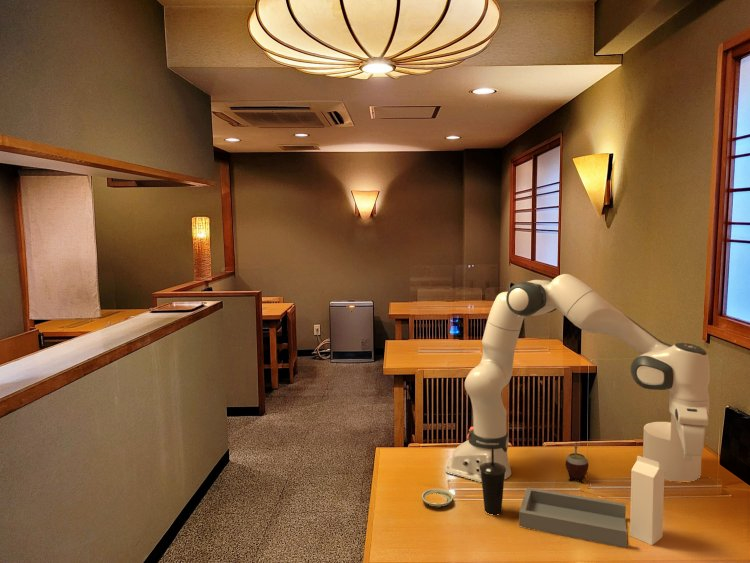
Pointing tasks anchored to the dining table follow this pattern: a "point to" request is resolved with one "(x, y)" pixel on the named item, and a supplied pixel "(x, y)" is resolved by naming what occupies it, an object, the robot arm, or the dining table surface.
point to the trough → (574, 516)
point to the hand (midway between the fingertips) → (687, 458)
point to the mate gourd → (576, 466)
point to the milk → (647, 500)
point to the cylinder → (669, 451)
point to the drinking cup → (492, 485)
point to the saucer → (441, 492)
